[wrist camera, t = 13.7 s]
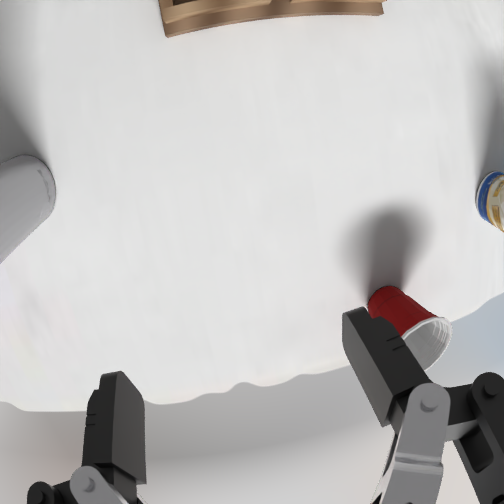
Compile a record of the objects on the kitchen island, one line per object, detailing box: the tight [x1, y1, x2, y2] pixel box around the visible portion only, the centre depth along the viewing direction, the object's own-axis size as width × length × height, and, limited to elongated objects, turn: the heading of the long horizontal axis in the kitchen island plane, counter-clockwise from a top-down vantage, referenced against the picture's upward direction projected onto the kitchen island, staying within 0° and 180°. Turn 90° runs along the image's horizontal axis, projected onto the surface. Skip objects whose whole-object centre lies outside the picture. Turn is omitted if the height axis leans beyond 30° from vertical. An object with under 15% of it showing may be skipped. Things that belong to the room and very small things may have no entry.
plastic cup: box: [368, 286, 452, 372], centre depth 41 cm, size 11×11×12 cm
